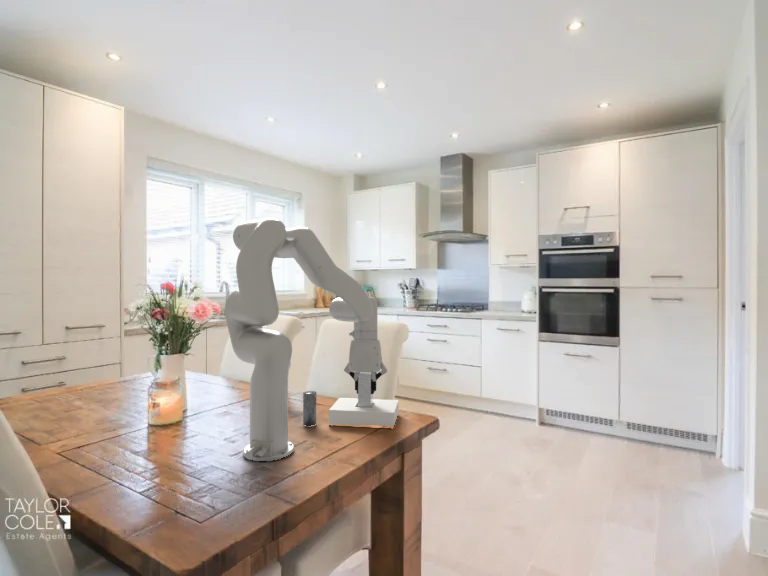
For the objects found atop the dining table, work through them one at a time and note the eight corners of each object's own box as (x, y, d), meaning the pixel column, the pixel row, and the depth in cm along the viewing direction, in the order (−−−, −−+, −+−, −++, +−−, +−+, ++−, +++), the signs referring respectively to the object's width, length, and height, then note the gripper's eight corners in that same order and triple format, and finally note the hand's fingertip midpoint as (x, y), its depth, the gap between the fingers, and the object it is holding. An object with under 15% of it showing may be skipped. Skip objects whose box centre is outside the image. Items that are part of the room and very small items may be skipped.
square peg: (370, 407, 135) (370, 374, 136) (357, 406, 136) (358, 374, 136) (372, 404, 139) (372, 372, 140) (360, 403, 140) (360, 372, 140)
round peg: (314, 427, 131) (314, 394, 131) (301, 427, 131) (301, 394, 131) (317, 423, 135) (318, 391, 135) (305, 422, 135) (305, 390, 135)
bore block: (393, 429, 130) (393, 412, 130) (328, 426, 132) (328, 409, 132) (398, 415, 143) (398, 400, 143) (339, 412, 146) (339, 397, 146)
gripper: (337, 336, 135) (337, 395, 135) (390, 337, 133) (390, 397, 133) (342, 333, 142) (342, 388, 143) (393, 334, 140) (393, 390, 140)
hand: (365, 392), depth 138 cm, fingers closed on square peg, 4 cm apart
